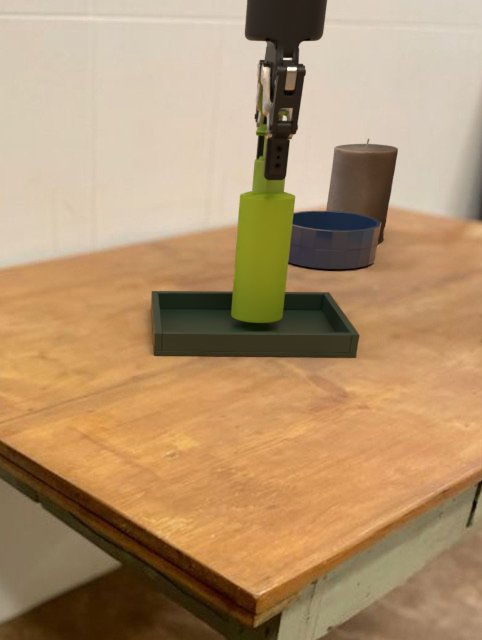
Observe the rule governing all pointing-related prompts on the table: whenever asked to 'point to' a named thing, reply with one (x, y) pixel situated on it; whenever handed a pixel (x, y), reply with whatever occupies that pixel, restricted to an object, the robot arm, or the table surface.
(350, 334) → the tray
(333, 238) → the bowl
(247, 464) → the table surface
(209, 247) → the table surface
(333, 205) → the pillar candle
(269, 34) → the robot arm
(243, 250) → the soap dispenser
